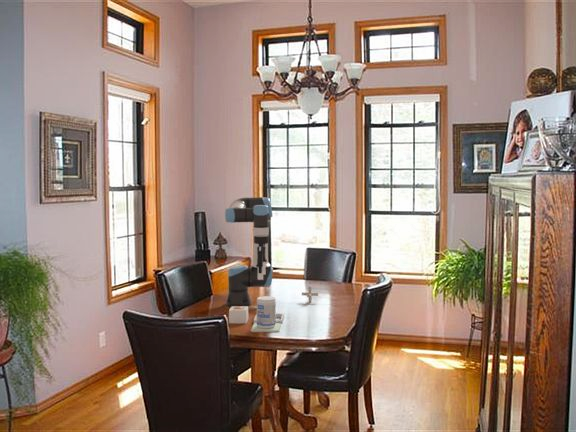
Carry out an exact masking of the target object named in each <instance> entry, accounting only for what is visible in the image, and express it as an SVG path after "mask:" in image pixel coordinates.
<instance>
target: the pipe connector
mask: <svg viewBox="0 0 576 432" xmlns="http://www.w3.org/2000/svg"><path fill="white" fill-rule="evenodd" d="M301 296H305V297H306V296H307V298H308V303H310V304H311V303H312V302H313V301H312V300H313V299H312V297H315V296H316V297H319V292H313V291H312V285H308V292H301Z"/></svg>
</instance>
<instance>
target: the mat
mask: <svg viewBox="0 0 576 432" xmlns="http://www.w3.org/2000/svg"><path fill="white" fill-rule="evenodd" d="M281 327H282V324H281V323H275V327H273V328H267V329H264V328H259V327H257V323H254V322H253V325H252V327H251V329H250V333H280V330H281Z"/></svg>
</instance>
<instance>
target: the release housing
mask: <svg viewBox="0 0 576 432" xmlns="http://www.w3.org/2000/svg"><path fill="white" fill-rule="evenodd" d="M234 307H243V309H234ZM248 321H249V306H232V307H230V308H229V310H228V324H247V323H248Z"/></svg>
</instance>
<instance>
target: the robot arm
mask: <svg viewBox="0 0 576 432" xmlns="http://www.w3.org/2000/svg"><path fill="white" fill-rule="evenodd" d="M224 216H225V217H224V218H225V222H226V223H230V224H231V223H232V224H233V223H252V231H253V232H252V233H253V242H252V243H253V262H252V264H251V265H250V267H249V266H248V265H246V264H245V265H243V264H242V265H241V264H240V265H235V266H231V267H229V269H228V272H227V277H228V278H227V279H228V294H227V297H226V300H225V306H227V307H230V308H231V307H232V306H248V307H249V306H251V304H252V299H251V296H250V293H249V288H266V287H270V286H271V285H272V282H273V275H274V274H273V273H274V268H273V267H272V266H271V264H270V262H269V243H270V241H269V240H270V239H269V237H270V236H269V234H270V233H269V231H270V230H269V229H270V228H269V222H270V221H271V218H273V209H272V202H271V199H270V198H269V197H263V196H261V197H258V196H257V197H255V196H254V197H241V198H238V199H234V200H233V201H232V202H231V203H230V205H229V207H228V208H225V210H224Z"/></svg>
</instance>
